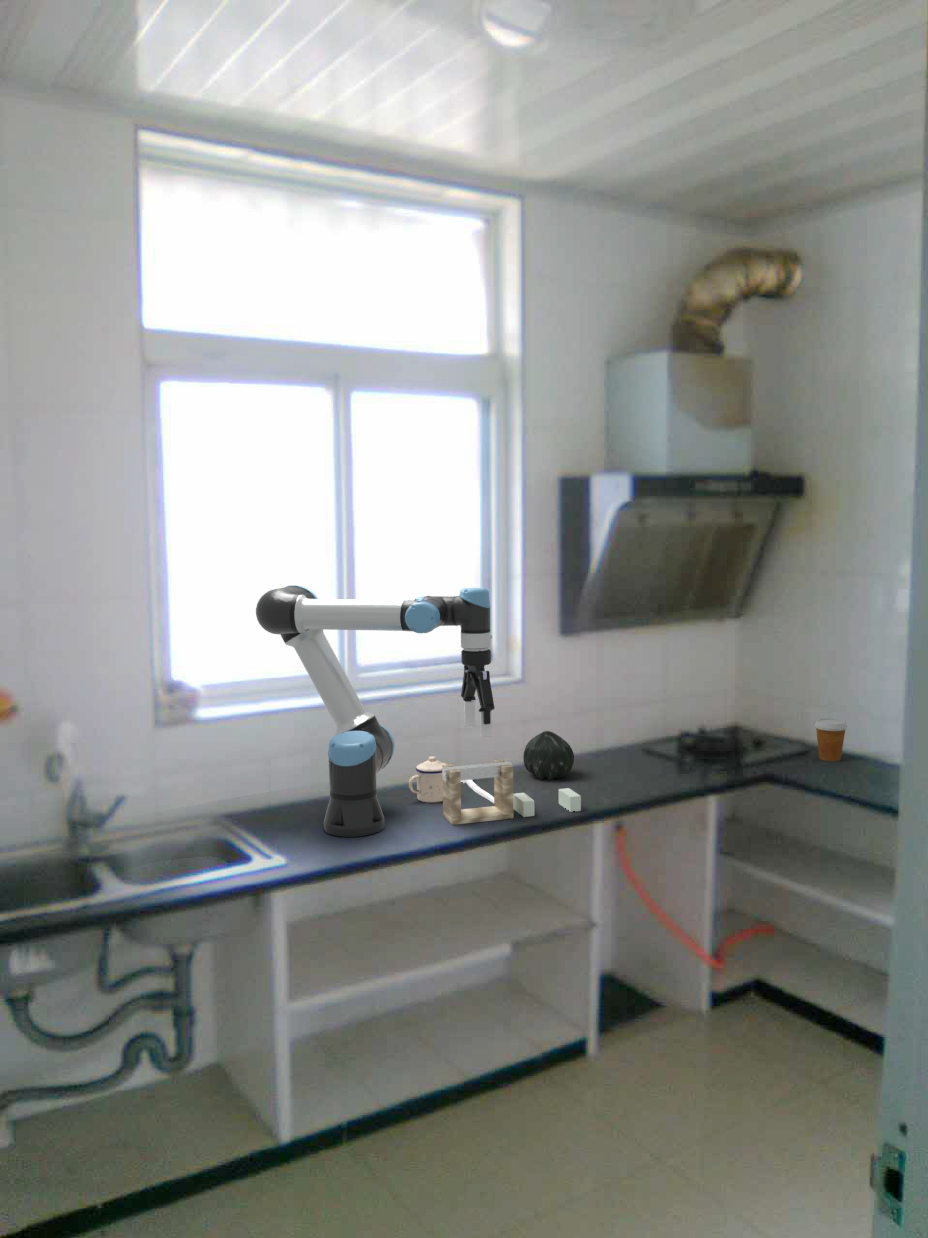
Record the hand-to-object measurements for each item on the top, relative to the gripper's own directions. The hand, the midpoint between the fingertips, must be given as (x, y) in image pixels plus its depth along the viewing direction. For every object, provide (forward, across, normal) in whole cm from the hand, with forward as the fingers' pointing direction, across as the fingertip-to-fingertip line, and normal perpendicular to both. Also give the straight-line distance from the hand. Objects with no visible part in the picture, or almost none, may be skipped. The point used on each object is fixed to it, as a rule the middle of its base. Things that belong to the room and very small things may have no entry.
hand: (477, 731), depth 254 cm
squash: (+23, +31, -32) cm, 50 cm away
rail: (+12, 0, 0) cm, 12 cm away
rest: (+23, 0, -19) cm, 29 cm away
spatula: (+23, +22, -8) cm, 33 cm away
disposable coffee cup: (+23, +20, -122) cm, 126 cm away
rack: (+22, 0, 0) cm, 23 cm away
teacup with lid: (+23, +20, +8) cm, 31 cm away
